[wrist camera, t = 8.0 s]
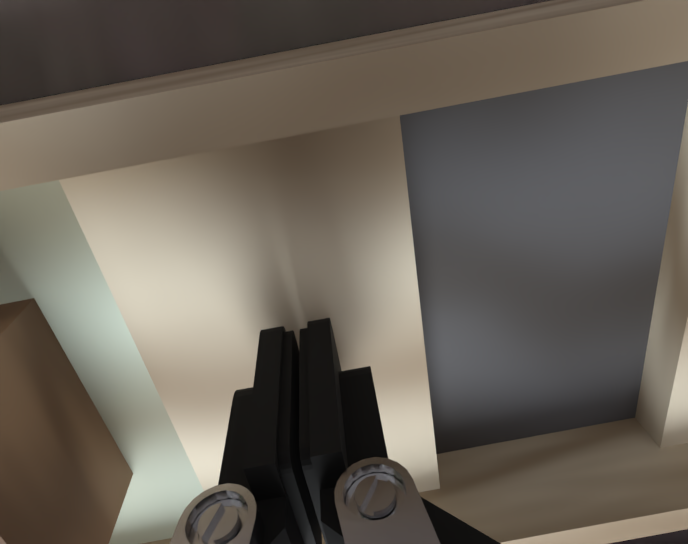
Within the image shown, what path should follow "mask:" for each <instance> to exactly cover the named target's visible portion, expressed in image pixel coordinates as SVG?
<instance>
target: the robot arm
mask: <svg viewBox="0 0 688 544" xmlns="http://www.w3.org/2000/svg"><path fill="white" fill-rule="evenodd" d="M322 535H323V538H324V541H325V544H501V543H499V542H497V541H496V540H494V539H492V538H491V537H489V536H487V535H485V534H484V533H482V532H480V531H479V530H477V529H475V528H474V527H472V526H470V525H468V524H467V523H465V522H463V521H462V520H460V519H458V518H456V517H455V516H453V515H451V514H450V513H448V512H446V511H445V510H443V509H441V508H439V507H438V506H436V505H434V504H433V503H431V502H429V501H427V500H426V499H424V498H422V497H421V496H420V495H419V492H418V490H417V487H416V485H415V483H414V480H413V478H412V477H411V475H410V474H409V472H408V470H407V469H406V468H405V467H403V466H402V465H401V464H399V463H398V462H396V461H393V460H391V459H388V454H387V449H386V444H385V439H384V434H383V429H382V423H381V418H380V413H379V408H378V403H377V398H376V392H375V387H374V382H373V377H372V372H371V367H370V366H367V367H362V368H356V369H351V370H345V371H342V370H341V365H340V361H339V356H338V351H337V347H336V342H335V338H334V333H333V328H332V324H331V320H330V318H324V319H319V320H313V321H308V322H307V328H303V329H300V331H299V348H298V345H297V341H296V337H295V334H294V331H293V330H292V331H286V330H285V328H284V326H280V327H275V328H269V329H264V330H261V331H260V335H259V343H258V351H257V359H256V368H255V376H254V384H253V387H251V388H245V389H240V390H236V391H235V392H234V396H233V400H232V406H231V412H230V418H229V423H228V429H227V435H226V441H225V447H224V453H223V459H222V464H221V470H220V476H219V482H218V485H216V486H214V487H212V488H209V489H207V490H205V491H203V492H202V493H201V494H199V495H198V496H197V497H195V498H194V499H193V500H192V501H191V502H190V503H189V505H188V506H187V507H186V508H185V509H184V511H183V513H182V515H181V517H180V519H179V521H178V523H177V526H176V528H175V531H174V534H173V536H172V539H171V541H170V544H322Z"/></svg>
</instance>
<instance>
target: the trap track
mask: <svg viewBox="0 0 688 544" xmlns="http://www.w3.org/2000/svg"><path fill="white" fill-rule="evenodd" d="M32 298H34V299H35V300H36V302H37V304H38V306H39V308H40V309H41V311H42V313H43V315H44V316H45V318H46V320H47V322H48V323H49V325H50V327H51V329H52V331H53V332H54V334H55V336H56V338H57V339H58V341H59V343H60V345H61V347H62V348H63V350H64V352H65V354H66V355H67V357H68V359H69V361H70V362H71V364H72V366H73V368H74V370H75V371H76V373H77V375H78V377H79V378H80V380H81V382H82V384H83V385H84V387H85V389H86V391H87V393H88V394H89V396H90V398H91V400H92V401H93V403H94V405H95V407H96V408H97V410H98V412H99V414H100V416H101V417H102V419H103V421H104V423H105V424H106V426H107V428H108V430H109V431H110V433H111V435H112V437H113V439H114V440H115V442H116V444H117V446H118V447H119V449H120V451H121V453H122V455H123V456H124V458H125V460H126V462H127V463H128V465H129V467H130V469H131V470H132V472H133V476H132V479H131V482H130V485H129V487H128V490H127V493H126V496H125V499H124V502H123V504H122V507H121V510H120V513H119V516H118V519H117V522H116V524H115V527H114V530H113V533H112V536H111V539H110V542H109V544H170V541H171V539H172V536H173V534H174V531H175V528H176V526H177V523H178V521H179V519H180V517H181V515H182V513H183V511H184V509H185V508H186V507H187V506H188V505H189V503H190V502H191V501H192V500H193V499H194V498H195V497H197V496H198V495H199V494H201V493H202V492H203V491H205V490H207V489H209V488H212V487H214V486H216V485H218V482H219V476H220V470H221V464H222V459H223V453H224V447H225V441H226V435H227V429H228V423H229V418H230V412H231V406H232V400H233V396H234V392H235V391H236V390H240V389H245V388H251V387H253V384H254V376H255V368H256V359H257V351H258V343H259V335H260V331H261V330H264V329H269V328H275V327H280V326H284V328H285V330H286V331H292V330H293V331H294V334H295V337H296V341H297V345H298V348H299V331H300V329H303V328H307V322H308V321H313V320H319V319H324V318H330V320H331V324H332V328H333V333H334V338H335V342H336V347H337V351H338V356H339V361H340V365H341V370H342V371H345V370H351V369H356V368H362V367H367V366H370V367H371V372H372V377H373V382H374V387H375V392H376V398H377V403H378V408H379V413H380V418H381V423H382V429H383V434H384V439H385V444H386V449H387V454H388V459H391V460H393V461H396V462H398V463H399V464H401V465H402V466H403V467H405V468H406V469H407V470H408V472H409V474H410V475H411V477H412V478H413V480H414V483H415V485H416V487H417V490H418V492H419V495H420V496H421V497H422V498H424V499H426V500H427V501H429V502H431V503H433V504H434V505H436V506H438V507H439V508H441V509H443V510H445V511H446V512H448V513H450V514H451V515H453V516H455V517H456V518H458V519H460V520H462V521H463V522H465V523H467V524H468V525H470V526H472V527H474V528H475V529H477V530H479V531H480V532H482V533H484V534H485V535H487V536H489V537H491V538H492V539H494V540H496V541H497V542H499V543H501V544H609V543H614V542H620V541H625V540H631V539H636V538H642V537H647V536H653V535H658V534H664V533H669V532H675V531H680V530H685V529H688V0H551V1H546V2H541V3H535V4H530V5H525V6H520V7H514V8H509V9H504V10H499V11H493V12H488V13H483V14H478V15H473V16H467V17H462V18H457V19H452V20H446V21H441V22H436V23H431V24H425V25H420V26H415V27H410V28H404V29H399V30H394V31H389V32H383V33H378V34H373V35H368V36H362V37H357V38H352V39H347V40H341V41H336V42H331V43H326V44H320V45H315V46H310V47H305V48H299V49H294V50H289V51H284V52H278V53H273V54H268V55H263V56H257V57H252V58H247V59H242V60H236V61H231V62H226V63H221V64H215V65H210V66H205V67H200V68H194V69H189V70H184V71H179V72H173V73H168V74H163V75H158V76H152V77H147V78H142V79H137V80H131V81H126V82H121V83H116V84H110V85H105V86H100V87H95V88H89V89H84V90H79V91H74V92H68V93H63V94H58V95H53V96H48V97H42V98H37V99H32V100H27V101H21V102H16V103H11V104H6V105H0V305H1V304H6V303H11V302H16V301H21V300H27V299H32ZM322 544H325V541H324V538H323V535H322Z"/></svg>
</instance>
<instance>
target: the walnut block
mask: <svg viewBox="0 0 688 544" xmlns="http://www.w3.org/2000/svg"><path fill="white" fill-rule="evenodd" d="M132 476H133V472H132V470H131V469H130V467H129V465H128V463H127V462H126V460H125V458H124V456H123V455H122V453H121V451H120V449H119V447H118V446H117V444H116V442H115V440H114V439H113V437H112V435H111V433H110V431H109V430H108V428H107V426H106V424H105V423H104V421H103V419H102V417H101V416H100V414H99V412H98V410H97V408H96V407H95V405H94V403H93V401H92V400H91V398H90V396H89V394H88V393H87V391H86V389H85V387H84V385H83V384H82V382H81V380H80V378H79V377H78V375H77V373H76V371H75V370H74V368H73V366H72V364H71V362H70V361H69V359H68V357H67V355H66V354H65V352H64V350H63V348H62V347H61V345H60V343H59V341H58V339H57V338H56V336H55V334H54V332H53V331H52V329H51V327H50V325H49V323H48V322H47V320H46V318H45V316H44V315H43V313H42V311H41V309H40V308H39V306H38V304H37V302H36V300H35V299H34V298H32V299H27V300H21V301H16V302H11V303H6V304H1V305H0V544H109V542H110V539H111V536H112V533H113V530H114V527H115V524H116V522H117V519H118V516H119V513H120V510H121V507H122V504H123V502H124V499H125V496H126V493H127V490H128V487H129V485H130V482H131V479H132Z"/></svg>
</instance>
